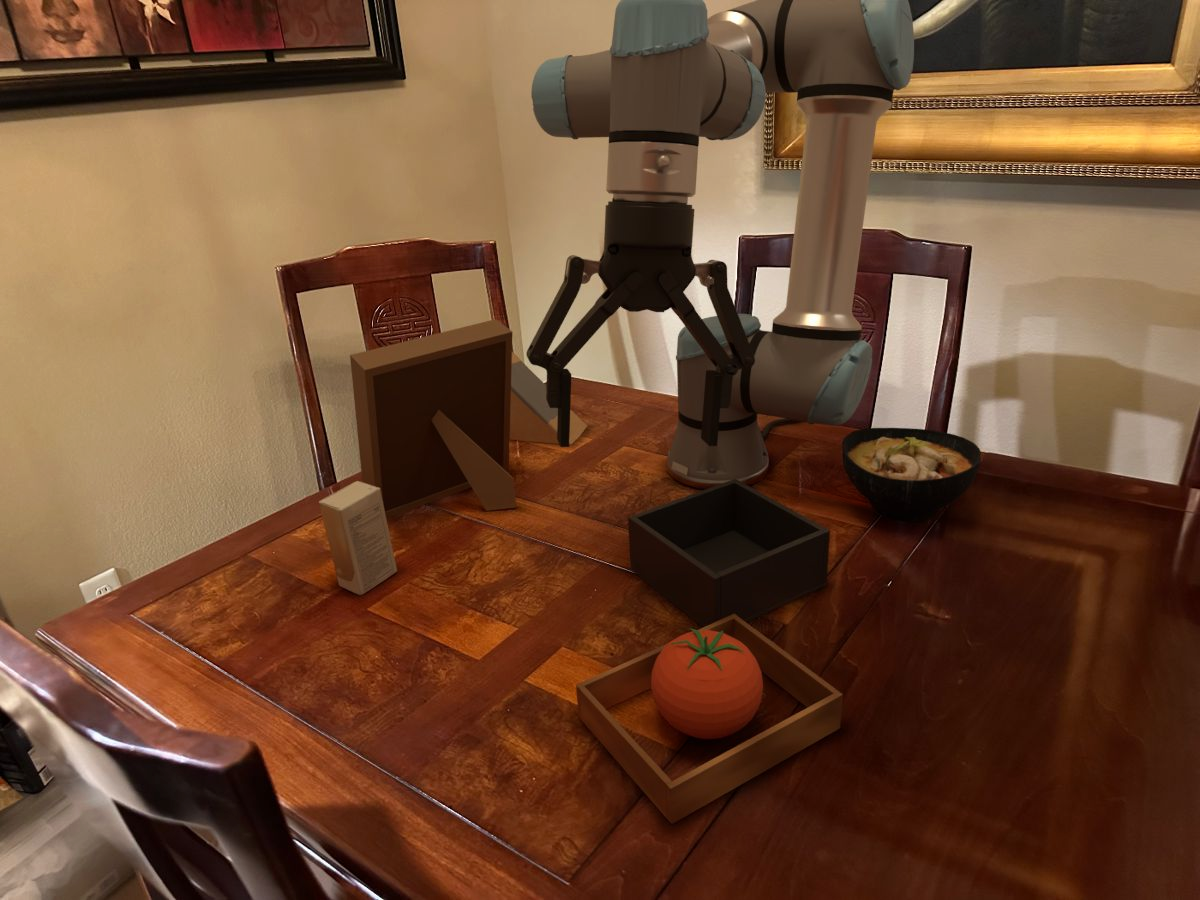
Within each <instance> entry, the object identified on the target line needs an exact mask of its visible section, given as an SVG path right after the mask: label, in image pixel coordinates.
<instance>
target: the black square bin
mask: <svg viewBox="0 0 1200 900" xmlns="http://www.w3.org/2000/svg"><path fill="white" fill-rule="evenodd" d="M627 525H628V527H627V528H628V546H629V548H628V549H629V565H630V567H629V570H630V571H631V572H632V573H634V574H635V575H636V576H637V577H639V578H640V579H641V580H642V581H644V582H645V583H646V584H647V585H649V587H651V588H653V589H654V590H655V591H657V592H658V593H659V595H661V596H663V598H665V599H666V600H668V601H669V602H670V603H671V604H672V605H673V606H674V607H676V608H677V609H678V610H680V611H681V612H683V613H684V614H685V615H686V616H688V618H690V619H691V620H692V621H694V622H695V623H696V624H697V625H699V626H700V628H703V627H706V626H708V625H710V624H712V623H714V622H717V621H719V620H721V619H723V618H726V617H728V616H730V615H732V614H735V615H737V616H738V617H739V618H741V619H742V620H743V621H745V622H746V623H747V624H748V623H749V622H751V621H753V620H756V619H758V618H759V617H762V616H764V615H766V614H769V613H771V612H773V611H775V610H777V609H779V608H781V607H783V606H786V605H788V604H790V603H793V602H795V601H797V600H799V599H801V598H804V597H805V596H807V595H810V594H812V593H814V592H816V591H819V590H821V589H823V588H825V587H827V585H828V584H827V583H828V568H829V552H830V539H831V538H830V537H831V530H830V529H828V528H826V527H825V526H823V525H822V524H820V523H817V522H815V521H813V520H811V519H810V518H808V517H806V516H805V515H802V514H800V512H799V513H798V512H797V511H796V510H793V509H792V508H790V507H788V506H786V505H784V504H782V503H781V502H779V501H777V500H775V499H773V498H772V497H769V496H768V495H766V494H764V493H762V492H760V491H759V490H757V489H755V488H753V487H751V486H750V485H749V486H748V485H746V484H744V483H742V482H740V481H739V480H737V479H733V480H731V481H727V482H725V483H722V484H719V485H716V486H713V487H711V488H708V489H701V490H700V491H697V492H694V493H691V494H688V495H685V496H682V497H679V498H677V499H674V500H672V501H669V502H665V503H663V504H660V505H658V506H655V507H652V508H649V509H646V510H642V511H641V512H638V513H635V514H633V515H630V516H628V517H627Z"/></svg>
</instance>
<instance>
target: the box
mask: <svg viewBox="0 0 1200 900" xmlns="http://www.w3.org/2000/svg"><path fill="white" fill-rule="evenodd" d="M697 630H698V631H704V630H710V631H716V632H721V631H723V633H725V634H727V635H729V636H731V637H733V638H735V639H737V640H738V641H740V642H742V643H743V644H744V645H745V646H746V647H747V648H748V649H749V650H750V652H751V653H752V654H753V656H754V657H755V658H756V660H757V663H758V665H759V667H760V670H761V673H762V674H764V675H765V676H766V677H768V678H769V679H770V680H771V681H773V683H775V684H777V685H778V687H780V688H782V689H783V690H784V691H785V692H786V693H788V694H789V695H790V696H792V697H793V698H794V699H795V700H797V701H798V702H799V703H801V705H803V706H804V707H805V708H804V709H802V710H800V711H799V712H796V713H795V714H793V715H791V716H790V717H788V718H786V719H784V720H782V721H781V722H778V723H776V724H775V725H773V726H771V727H769V728H768V729H765V730H764V731H762V732H760V733H758V734H757V735H755V736H753V737H751V738H749V739H747V740H745V741H743V742H742V743H740V744H738V745H736V746H734V747H732V748H731V749H729V750H727V751H725V752H723V753H721V754H719V755H717V756H716V757H714V758H712V759H710V760H708V761H707V762H705V763H703V764H701V765H699V766H697V767H696V768H694V769H692V770H690V771H688V772H686V773H684V774H683V775H681V776H679V777H677V778H675V779H673V780H672V779H671V778H670V777H669V776H668V775H667V773H665V772H664V770H663V769H662V768H661V767H660V766H659V765H658V764H657V763H656V761H654V760H653V759H652V757H650V755H649V754H648V753H647V752H646V751H645V750H644V749H643V748H642V747H641V746H640V744H638V743H637V741H636V740H635V739H634V738H633V737H632V736H631V734H629V732H627V730H626V729H625V728H624V727H623V726H622V725H621V724H620V723H619V722H618V720H616V719H615V717H614V716H613V715H612V714H611V713H610V712H609V711H608V709H610V708H613V707H614V706H616V705H619V704H620V703H622V702H625V701H627V700H629V699H631V698H634V697H635V696H637V695H639V694H642V693H645V692H646V691H648V690H650V689H651V677H652V670H653V667H654V664H655V662H656V659H657V657H658V655H659V654H660V653H661V651H662V650H663V649H664V647H665V646H666V645H667V644H668V643H666V644H663V645H661V646H659V647H657V648H654V649H652V650H650V651H647V652H646V653H644V654H641V655H639V656H637V657H634V658H632V659H629V660H628V661H626V662H624V663H622V664H619V665H617V666H614V667H612V668H610V669H608V670H606V671H604V672H601V673H599V674H597V675H595V676H592V677H590V678H588V679H585V680H583V681H581V682H579V683H576V685H575V689H576V702H577V703H576V704H577V713H578V714H577V715H578V719H579V720H580V721H581V722H582V723H583V724H584V726H586V728H587V729H588V730H589V731H590V732H591V733H592V735H593V736H594V737H595V738H596V739H597V740H598V742H599V743H600V744H601V745H602V746H603V747H604V749H606V751H607V752H608V753H609V754H610V755H611V756H612V758H613V759H614V760H615V761H616V762H617V763H618V764H619V766H620V767H621V768H622V769H623V770H624V771H625V773H626V774H627V775H628V776H629V777H630V778H631V780H632V781H633V782H634V783H635V784H636V785H637V787H639V789H640V790H641V791H642V792H643V793H644V794H645V795H646V797H647V798H648V799H649V800H650V801H651V802H652V804H653V805H654V806H655V807H656V809H658V810H659V812H660V813H661V814H662V815H663V816H664V817H665V819H666V820H667V821H668V822H669V824H671V825H673V824H675V823H677V822H678V821H680V820H682V819H684V818H686V817H687V816H689V815H690V814H692V813H695V812H696V811H697V810H699V809H702V808H703V807H705V806H707V805H708V804H710V803H712V802H714V801H715V800H717V799H719V798H721V797H722V796H724V795H725V794H728V793H729V792H731V791H733V790H735V789H736V788H738V787H740V786H741V785H743V784H745V783H747V782H749V781H750V780H752V779H754V778H756V777H757V776H759V775H761V774H762V773H764V772H766V771H768V770H770V769H771V768H773V767H775V766H777V765H779V764H780V763H782V762H784V761H785V760H787V759H789V758H790V757H792V756H794V755H796V754H797V753H799V752H801V751H803V750H804V749H806V748H808V747H809V746H811V745H814V744H815V743H817V742H818V741H820V740H822V739H824V738H825V737H828V736H829V735H831V734H832V733H834V732H837V731H838V730H840V729H841V723H842V709H843V697H844V696H843V695H844V694H843V693H842V692H840V691H839V690H837V689H836V687H834V686H832V685H831V684H830V683H828V682H827V681H825V679H823V678H822V677H820V676H819V675H818V674H817V673H815V672H814V671H812V670H811V669H810V668H808V667H807V666H805V665H804V664H803V663H802V662H800V661H799V660H798V659H796V658H795V657H793V655H791V654H789V653H788V652H787V651H785V650H784V649H782V648H781V647H780V646H778V645H777V644H776V643H775V642H773V641H772V640H771V639H769V638H768V637H766V636H765V635H764V634H762V633H761V632H760V631H758V630H757V629H756V628H754V627H753V626H751V624H749V623H748V622H747V623H746V622H745V621H743V620H742V619H741V618H739V617H738V616H737V615H735V614H732V615H730V616H728V617H726V618H723V619H721V620H719V621H717V622H714V623H712V624H710V625H708V626H706V627H700V628H699V629H697Z"/></svg>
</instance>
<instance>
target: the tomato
mask: <svg viewBox="0 0 1200 900" xmlns="http://www.w3.org/2000/svg"><path fill="white" fill-rule="evenodd" d="M689 630H691V631H689V632H686V633H683V634H681V635H679V636H678V637H675V638H674V639H672V640H671V641H669V642H668V643H666V644H667V645H666V644H665V645H666V646H665V647H664V649H663V650H662V651H661V653H660V654H659V655H658V657H657V659H656V662H655V664H654V667H653V670H652V677H651V688H650V689H651V694H652V699H653V701H654V704H655V705H656V708H657V709H658V711H659V713H660V715H661V716H662V717H663V718H664V719H665V720H666V722H667V723H668V724H669V725H670V726H672V727H673V728H674V729H676V730H677V731H679V732H681V733H682V734H684V735H686V736H689V737H693V738H696V739H700V740H701V739H703V740H715V739H722V738H725V737H728V736H731V735H733V734H735V733H737V732H739V731H740V730H741V729H743V728H744V727H746V726H747V724H749V722H750V721H751V720H752V719H753V718H754V717H755V715H756V713H757V711H758V709H759V707H760V705H761V703H762V697H763V691H764V681H763V672H762V671H761V670H760V667H759V665H758V663H757V660H756V658H755V657H754V656H753V654H752V653H751V652H750V650H749V649H748V648H747V647H746V646H745V645H744V644H743V643H742V642H740V641H738V640H737V639H735V638H733V637H731V636H729V635H727V634H725V633H723V631H721V632H716V631H710V630H704V631H698V630H699V629H694V628H689Z"/></svg>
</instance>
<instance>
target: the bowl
mask: <svg viewBox="0 0 1200 900" xmlns="http://www.w3.org/2000/svg"><path fill="white" fill-rule="evenodd" d="M841 452H842V453H841V457H842V459H841V460H842V465H843V469H844V471H845V474H846V476H847V477H848V479H849V481H850V483H851V484H852V485H853V487H854V488H855V489H856V491H857V492H858V493H859V494H860V495H861V496H862V497H863V498H865V499H866V500H867V501H868V503H869V505H870V507H871V509H872V510H873V511H874V512H875V513H876V514H877V515H879V516H881V517H882V518H884V519H888V520H890V521H895V522H899V523H923V522H925V521H926V522H927V521H929V520H931V519H933V518H934V517H935V516H936V515H937V514H938V513H939V511H940V510H942V509H943V508H945V507H947V506H949V505H951V504H952V503H954V502H955V501H956V500H957V499H959V498H960V497H961V496H962V495H964V494H965V493H966V492H967V491H968V489H969V488H970V487H971V485H972V484H973V483H974V481H975V479H976V476H977V474H978V471H979V469H980V465H981V459H982V452H981V449H980V448H979V445H977V444H976V443H975V442H973V441H971V440H970V439H968V438H966V437H962V436H959V435H957V434H954V433H948V432H943V431H938V430H931V429H923V428H909V427H867V428H861V429H857V430H853V431H851V432H850V433H848V434H847V435H846V436H845V437H844V438H843V439H842V442H841Z"/></svg>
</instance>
